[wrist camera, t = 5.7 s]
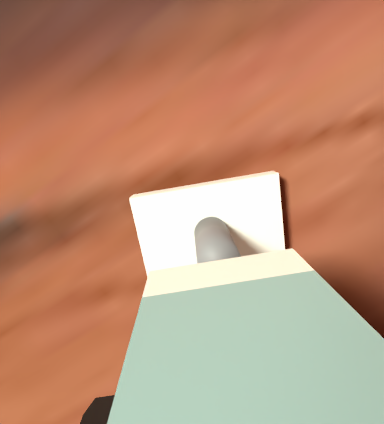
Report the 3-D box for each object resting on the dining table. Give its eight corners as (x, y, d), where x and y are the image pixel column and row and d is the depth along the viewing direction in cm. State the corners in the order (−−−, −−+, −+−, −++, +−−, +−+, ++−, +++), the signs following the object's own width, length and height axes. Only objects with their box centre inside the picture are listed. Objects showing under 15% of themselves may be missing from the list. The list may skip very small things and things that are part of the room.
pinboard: (132, 194, 23) (109, 220, 16) (272, 170, 23) (313, 185, 16) (168, 349, 27) (162, 425, 20) (287, 330, 27) (324, 400, 20)
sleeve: (149, 271, 11) (73, 543, 4) (292, 248, 11) (526, 479, 4) (174, 386, 13) (159, 753, 5) (301, 366, 13) (480, 713, 5)
